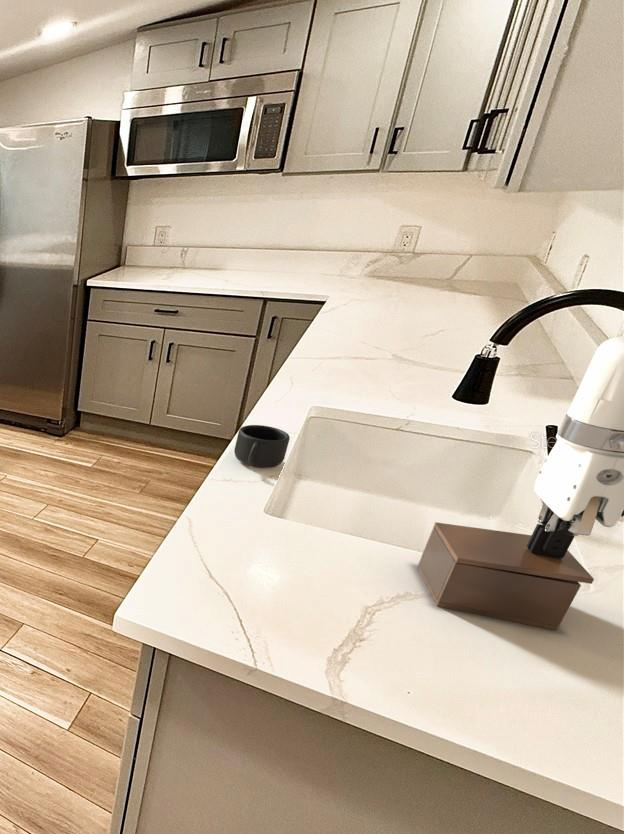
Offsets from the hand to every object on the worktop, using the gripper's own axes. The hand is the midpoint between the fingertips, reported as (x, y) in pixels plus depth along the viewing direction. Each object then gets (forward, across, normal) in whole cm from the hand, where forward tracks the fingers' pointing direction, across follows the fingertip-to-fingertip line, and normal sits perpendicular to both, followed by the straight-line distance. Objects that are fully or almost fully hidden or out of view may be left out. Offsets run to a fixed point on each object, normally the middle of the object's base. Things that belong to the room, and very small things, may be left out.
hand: (544, 552), depth 86 cm
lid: (+1, 0, +4) cm, 4 cm away
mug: (+9, +37, +30) cm, 48 cm away
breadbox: (+9, 0, +4) cm, 10 cm away
